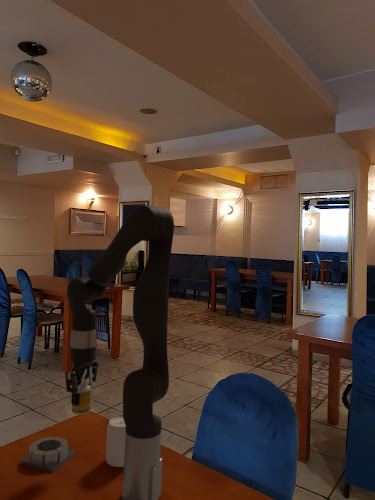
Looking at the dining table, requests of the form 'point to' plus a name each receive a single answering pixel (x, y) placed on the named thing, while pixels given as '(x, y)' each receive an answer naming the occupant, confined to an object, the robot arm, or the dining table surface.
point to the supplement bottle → (83, 399)
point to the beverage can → (116, 442)
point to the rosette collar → (48, 454)
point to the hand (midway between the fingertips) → (81, 401)
